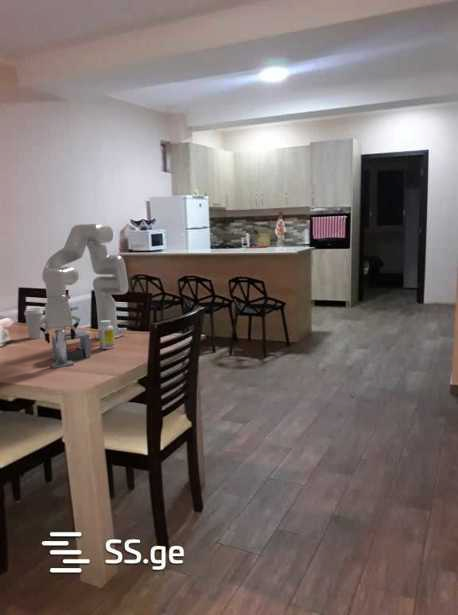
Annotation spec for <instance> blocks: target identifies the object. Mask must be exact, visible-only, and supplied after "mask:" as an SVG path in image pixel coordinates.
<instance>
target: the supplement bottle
mask: <svg viewBox="0 0 458 615" xmlns="http://www.w3.org/2000/svg"><path fill="white" fill-rule="evenodd" d="M100 324H101V326H100V327H99V331H98V334H99V339H98V340H99V347H100V349H102V350H111V349H114V348H115V338H114V331H113V327H112V326H111V325H110V324H111V321H110V320H103V321H100Z"/></svg>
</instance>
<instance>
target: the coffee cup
mask: <svg viewBox="0 0 458 615" xmlns="http://www.w3.org/2000/svg"><path fill="white" fill-rule="evenodd" d="M44 314H45V311H43V309H42V308H41V307H33V308H27V309H25V310H24V313H23V315H24V316H25V317H24V318H25V322H26V327H27V331H28V332H27V333H28V337H29V339H31V340H37V339H42V338H43V335H44V334H43V333H44V332H42V331H41V330H40V329H39V327H38V326H37V325H36V324H37V323H38V322H39V321H41V320H43V319H44V318H43V317H44V316H43V315H44ZM43 324H44V323H43ZM43 324H42V325H41V326H42V328H44V327H43Z"/></svg>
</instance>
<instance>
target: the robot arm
mask: <svg viewBox="0 0 458 615" xmlns="http://www.w3.org/2000/svg"><path fill="white" fill-rule="evenodd" d="M67 236H68V237H67V239H66V241H65V244H64V246H63V247H62V248H61V249H59V250H57V252H55V253H54V254H52V255H51V256H50V257H49V258H48V260H47V261H46V263H45V266H44V268H43V271H42V281H43V283H45V292H46V294H45V295H46V302H47V303H45V305H44V318H43V320H41V321H39V322H38V323H37V324H36V325H37V326H38V327H39V329H40V330H41V331H42V332H43V333H44V340H45V341H44V342H46V343H48V344H50V343H51V340H50V333H49V331H50V330H51V329H61V328H66V327H69V328H70V330H69V331H70V332H69V333H70V334H71V336H70V337H71V339H72V340H75V339H74V337H75V333H76V329H77V328H78V326H79V324H80V323H81V321H82V320H81V318H80V317H77V316H75V315H73V314H72V311H71V306H70V303H69V301H68V300H70V299H71V296H70V295H67V288H66V286H72V285H75V284H76V283H77V282H78V280H79V273H78V270H77V269H76V268H75V267H71V266H65V265H68V264H71V263H74V262H75V261H78V260H80V259H81V258H82V257H83V256H84V252H85V251H86V247H87V249H88V252H89V257H90V262H91V266H92V271H93V272H94V273H95V274H96V275H99V276H96V277H95V278H94V279H93V280H92V287H93V291H94V296H95V303H96V314H97V327H98V328H97V329H98V332H99V327H100V326H101V324H100V321H103V320H110V321H111V324H110V325H111V326H112V327H113V331H114V339H117V338H120V337H121V336H122V333H123V332H124V333H125V332H127V331H128V329H127V327H118V320H117V319H118V318H117V317H118V316H117V306H116V305H117V304H116V303H117V302H116V301H115V299H114V298H113V296H112V295H125V294H126V293H128V291H129V280H128V273H127V269H126V268H127V267H126V263H125V260H124V258H123V257H122V256H121V255H120V254H119V255H117V254H114V255H113V254H109V253H108V249H107V245H106V244H109V243H111V242H112V240H113V238H114V230H113V228H112V227H111V225H108V224H100V223H82V224H81V223H80V224H76V225H74V226H73V227H71V230H70V232H69V234H68V235H67ZM73 320H75V323H74V324H73ZM42 324H45V327H43V328H42V326H41V325H42ZM95 338H96V339H98V340H100V339H99V333H97V334H95Z"/></svg>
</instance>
